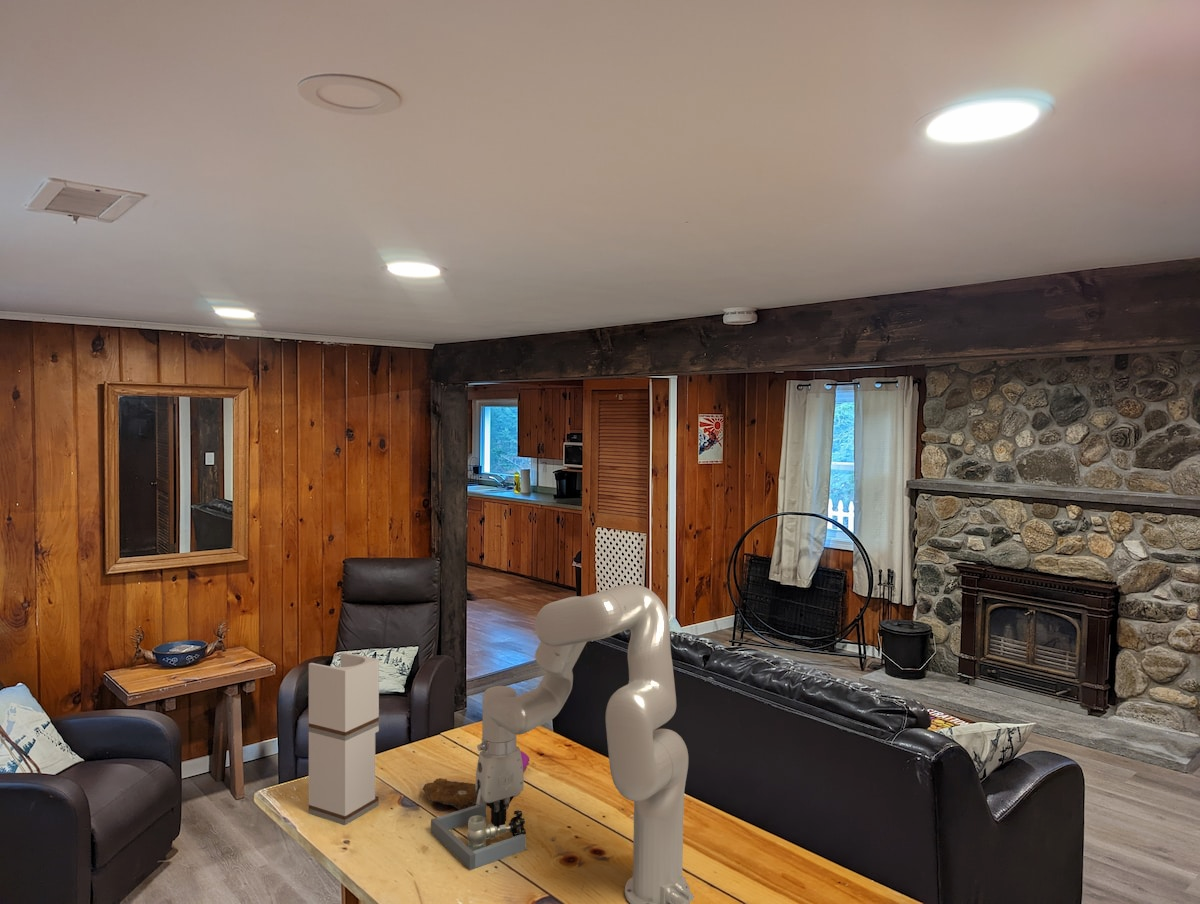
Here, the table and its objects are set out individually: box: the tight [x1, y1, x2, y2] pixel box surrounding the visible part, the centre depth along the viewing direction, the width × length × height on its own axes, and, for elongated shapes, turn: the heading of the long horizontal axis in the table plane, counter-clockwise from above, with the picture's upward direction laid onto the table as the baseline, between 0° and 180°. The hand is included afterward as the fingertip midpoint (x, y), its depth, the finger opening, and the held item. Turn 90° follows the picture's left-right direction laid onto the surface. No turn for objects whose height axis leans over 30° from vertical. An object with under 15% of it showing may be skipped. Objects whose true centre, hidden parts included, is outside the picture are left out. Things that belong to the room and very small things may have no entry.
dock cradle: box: [430, 804, 527, 871], centre depth 171 cm, size 18×13×3 cm
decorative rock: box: [422, 777, 477, 811], centre depth 190 cm, size 11×4×15 cm
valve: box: [466, 809, 527, 851], centre depth 169 cm, size 7×7×12 cm
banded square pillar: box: [308, 652, 380, 826], centre depth 184 cm, size 11×11×35 cm
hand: (498, 826), depth 174 cm, fingers closed
